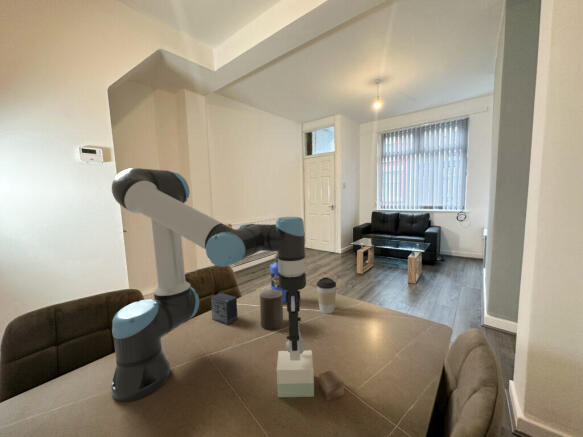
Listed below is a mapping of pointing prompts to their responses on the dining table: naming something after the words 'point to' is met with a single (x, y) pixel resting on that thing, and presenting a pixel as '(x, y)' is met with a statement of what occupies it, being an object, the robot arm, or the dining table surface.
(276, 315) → the pillar candle
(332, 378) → the brick
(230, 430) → the dining table surface
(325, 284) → the coffee cup
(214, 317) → the small box
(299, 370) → the cream and green box
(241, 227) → the robot arm
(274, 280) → the blue plastic bottle
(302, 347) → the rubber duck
